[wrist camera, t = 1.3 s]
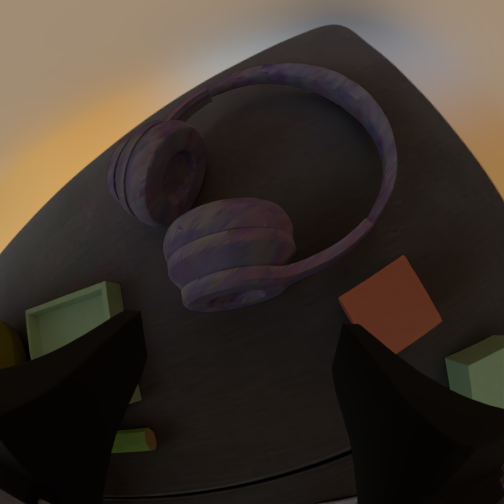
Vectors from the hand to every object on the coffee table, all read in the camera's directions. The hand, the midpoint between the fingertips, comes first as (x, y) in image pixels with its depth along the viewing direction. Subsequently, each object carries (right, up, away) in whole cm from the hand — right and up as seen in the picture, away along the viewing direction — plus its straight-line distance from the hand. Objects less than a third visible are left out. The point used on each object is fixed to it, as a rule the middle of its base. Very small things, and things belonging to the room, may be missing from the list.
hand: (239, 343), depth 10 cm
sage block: (+17, -6, +6) cm, 18 cm away
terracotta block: (+9, -1, +9) cm, 13 cm away
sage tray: (-17, -7, +15) cm, 24 cm away
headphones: (+2, +9, +14) cm, 17 cm away
